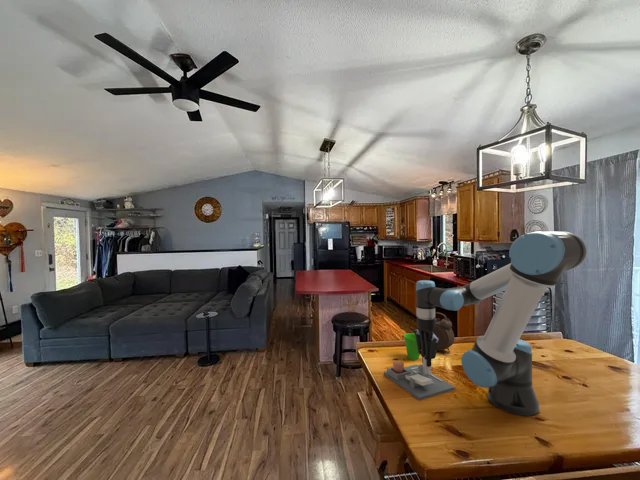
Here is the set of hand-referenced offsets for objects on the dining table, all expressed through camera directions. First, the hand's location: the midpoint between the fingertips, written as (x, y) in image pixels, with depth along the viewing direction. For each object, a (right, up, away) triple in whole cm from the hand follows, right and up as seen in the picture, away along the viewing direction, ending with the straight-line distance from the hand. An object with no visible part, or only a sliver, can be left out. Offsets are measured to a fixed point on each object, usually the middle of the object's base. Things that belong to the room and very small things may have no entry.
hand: (426, 372), depth 120 cm
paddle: (-6, +1, -7) cm, 9 cm away
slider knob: (-1, -1, +2) cm, 3 cm away
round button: (-12, 0, +2) cm, 12 cm away
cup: (+1, -3, +21) cm, 21 cm away
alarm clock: (+18, -2, +30) cm, 35 cm away
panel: (-5, -3, -2) cm, 6 cm away
